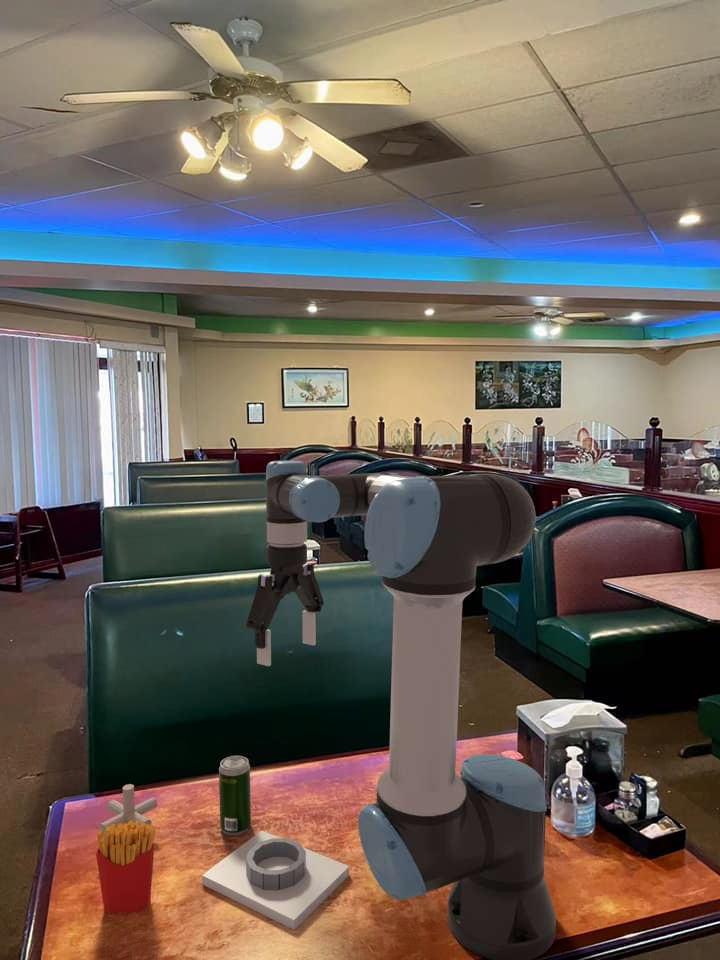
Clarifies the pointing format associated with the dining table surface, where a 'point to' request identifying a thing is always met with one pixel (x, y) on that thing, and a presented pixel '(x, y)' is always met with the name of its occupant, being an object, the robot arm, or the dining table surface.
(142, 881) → the french fries
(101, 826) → the pipe connector
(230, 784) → the beer can
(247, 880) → the holder
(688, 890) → the dining table surface
